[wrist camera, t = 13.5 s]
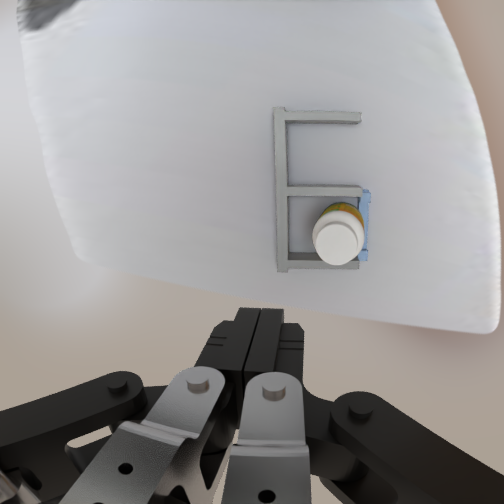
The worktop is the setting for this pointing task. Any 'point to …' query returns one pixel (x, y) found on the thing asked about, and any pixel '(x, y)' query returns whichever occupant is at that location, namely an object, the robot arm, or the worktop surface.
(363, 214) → the light blue flat bar
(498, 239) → the worktop surface
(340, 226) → the supplement bottle
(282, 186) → the grey two-tier shelf
